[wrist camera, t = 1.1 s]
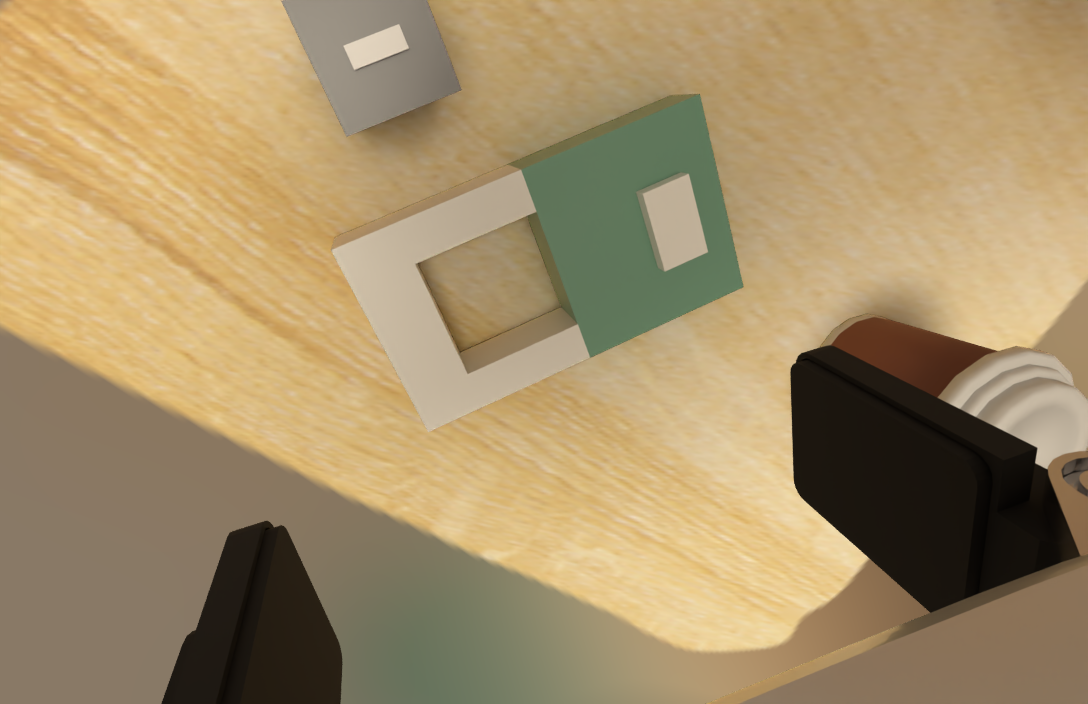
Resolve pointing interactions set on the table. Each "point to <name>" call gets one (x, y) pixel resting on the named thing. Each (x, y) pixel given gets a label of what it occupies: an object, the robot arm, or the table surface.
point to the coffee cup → (978, 380)
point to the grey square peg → (374, 56)
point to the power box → (555, 255)
